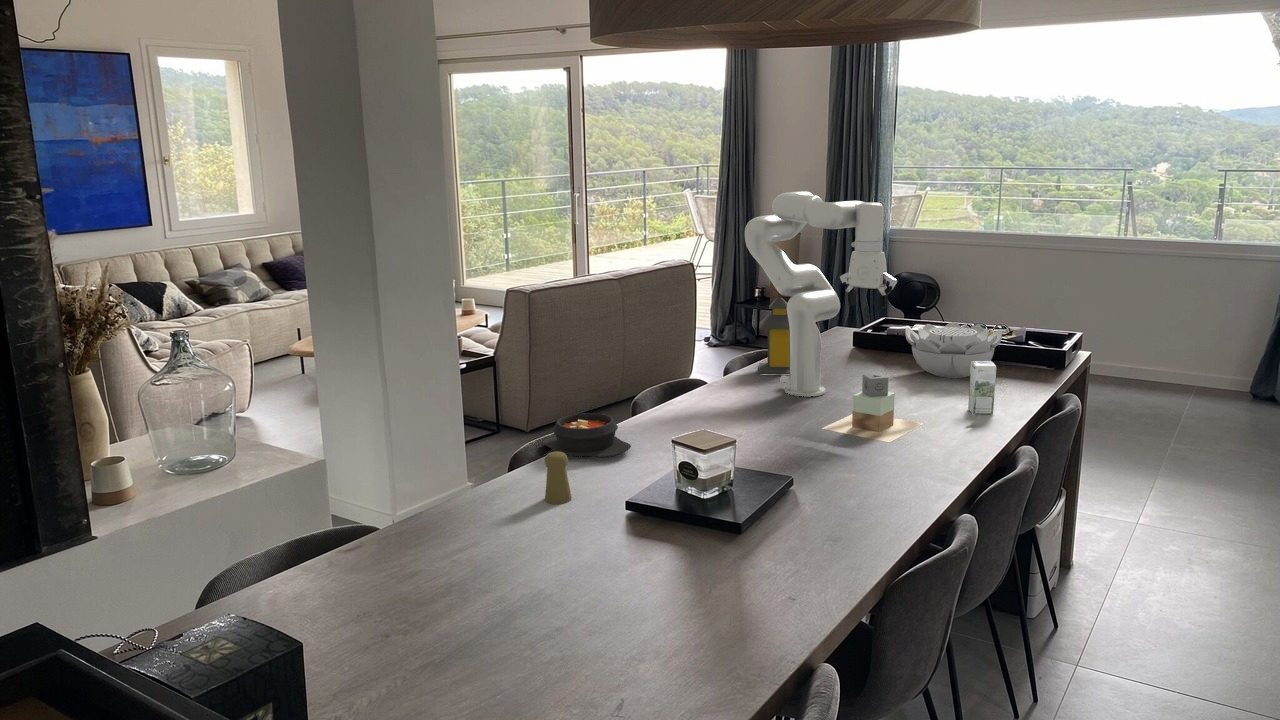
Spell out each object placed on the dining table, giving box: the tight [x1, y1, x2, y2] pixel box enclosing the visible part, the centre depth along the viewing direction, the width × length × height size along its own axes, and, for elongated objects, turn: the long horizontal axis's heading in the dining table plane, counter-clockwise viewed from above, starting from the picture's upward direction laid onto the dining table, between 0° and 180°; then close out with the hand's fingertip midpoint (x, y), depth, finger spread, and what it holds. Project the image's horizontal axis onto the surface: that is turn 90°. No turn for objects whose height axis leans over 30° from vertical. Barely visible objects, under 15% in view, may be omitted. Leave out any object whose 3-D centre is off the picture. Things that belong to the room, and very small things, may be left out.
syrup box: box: [967, 360, 997, 415], centre depth 267 cm, size 6×6×14 cm
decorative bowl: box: [904, 321, 1003, 379], centre depth 309 cm, size 30×30×15 cm
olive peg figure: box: [544, 451, 572, 505], centre depth 212 cm, size 6×6×11 cm
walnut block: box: [851, 408, 895, 432], centre depth 254 cm, size 8×8×4 cm
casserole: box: [541, 412, 632, 458], centre depth 245 cm, size 25×19×8 cm
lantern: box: [758, 291, 790, 375], centre depth 321 cm, size 14×14×30 cm
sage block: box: [852, 390, 896, 416], centre depth 253 cm, size 8×8×4 cm
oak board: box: [821, 413, 925, 443], centre depth 254 cm, size 20×20×2 cm
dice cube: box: [861, 372, 889, 397], centre depth 252 cm, size 5×5×5 cm
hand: (867, 306), depth 269 cm, fingers open, 9 cm apart
